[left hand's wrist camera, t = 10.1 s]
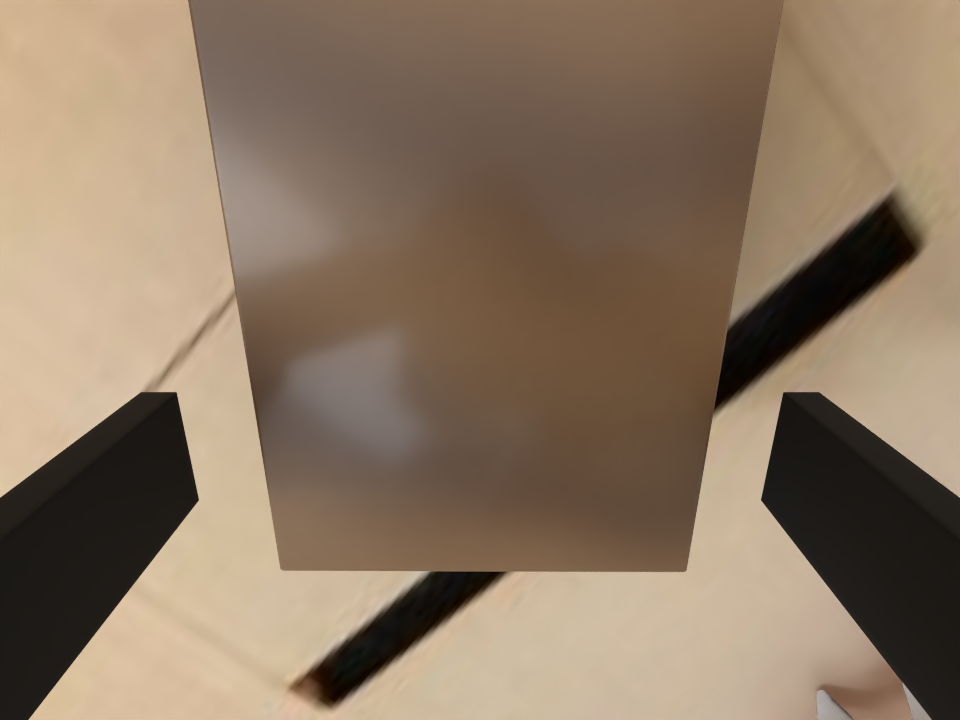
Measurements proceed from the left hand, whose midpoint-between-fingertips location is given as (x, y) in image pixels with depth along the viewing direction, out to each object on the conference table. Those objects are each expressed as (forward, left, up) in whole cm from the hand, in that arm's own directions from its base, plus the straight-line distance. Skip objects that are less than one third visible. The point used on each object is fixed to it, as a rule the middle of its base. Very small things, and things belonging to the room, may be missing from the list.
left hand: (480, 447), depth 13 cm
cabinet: (+7, -1, -8) cm, 11 cm away
